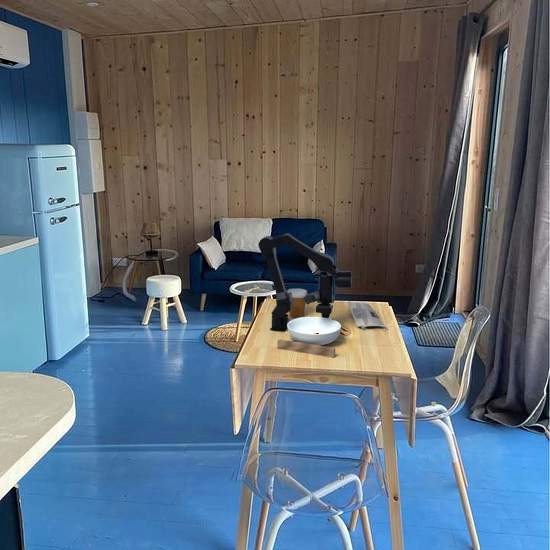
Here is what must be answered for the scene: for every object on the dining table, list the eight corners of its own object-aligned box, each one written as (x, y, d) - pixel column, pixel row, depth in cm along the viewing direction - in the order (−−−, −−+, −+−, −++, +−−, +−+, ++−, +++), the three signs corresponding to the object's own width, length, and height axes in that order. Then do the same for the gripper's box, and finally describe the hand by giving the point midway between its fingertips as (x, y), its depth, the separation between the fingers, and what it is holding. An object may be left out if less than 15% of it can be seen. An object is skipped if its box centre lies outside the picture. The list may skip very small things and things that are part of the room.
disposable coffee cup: (310, 315, 236) (311, 290, 233) (300, 321, 228) (301, 294, 225) (292, 312, 241) (293, 287, 238) (282, 317, 233) (282, 291, 230)
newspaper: (387, 331, 217) (387, 323, 217) (357, 331, 217) (357, 323, 216) (369, 307, 252) (370, 300, 251) (344, 307, 251) (344, 300, 251)
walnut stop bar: (277, 348, 196) (277, 340, 195) (279, 346, 197) (279, 339, 197) (333, 357, 187) (333, 349, 186) (335, 355, 189) (335, 348, 188)
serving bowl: (278, 336, 209) (279, 319, 207) (325, 330, 217) (326, 314, 215) (300, 354, 190) (300, 336, 189) (350, 347, 198) (351, 329, 196)
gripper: (308, 280, 220) (307, 315, 224) (303, 291, 203) (302, 329, 206) (334, 281, 219) (333, 317, 222) (331, 293, 201) (330, 331, 204)
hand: (324, 323), depth 214 cm, fingers closed
